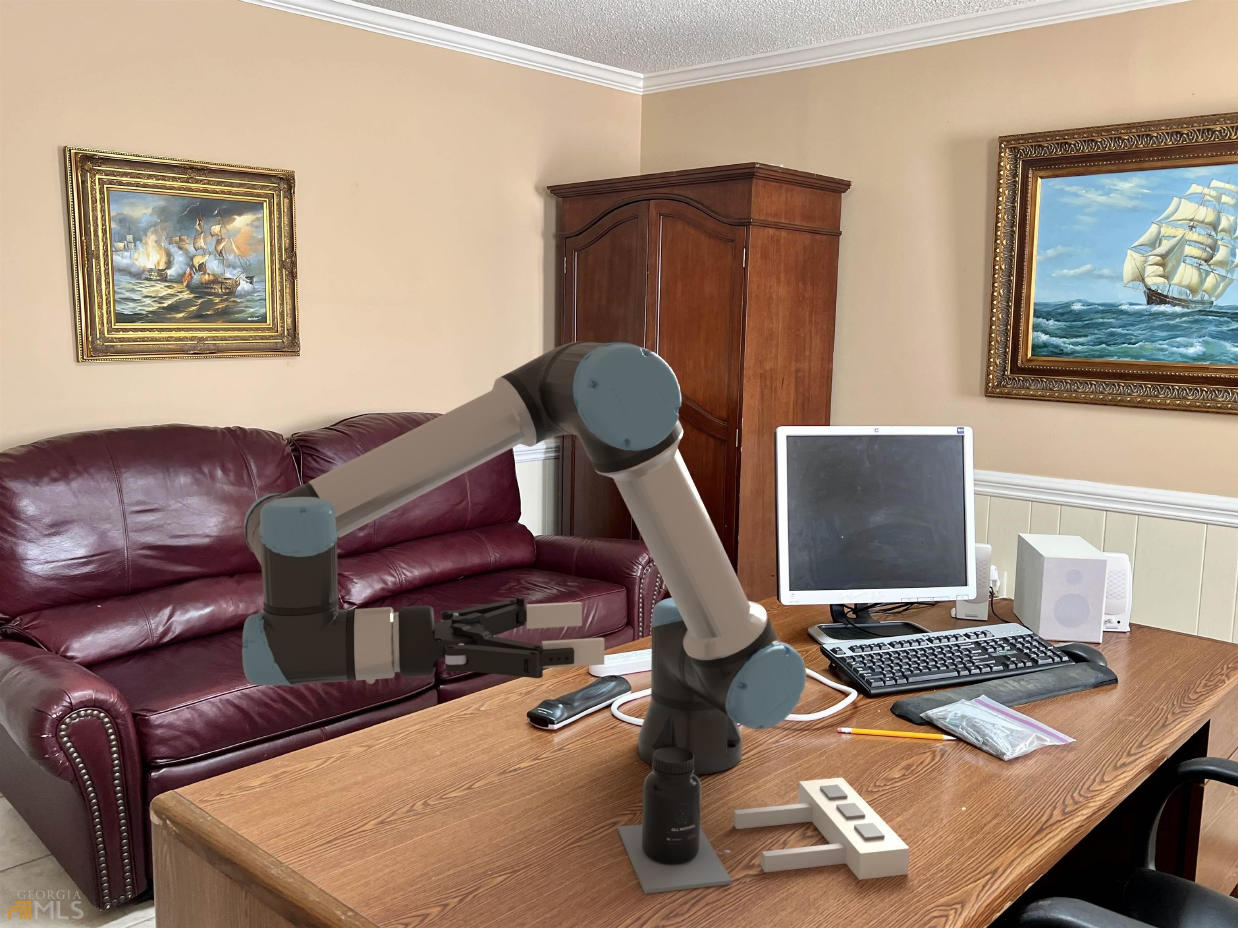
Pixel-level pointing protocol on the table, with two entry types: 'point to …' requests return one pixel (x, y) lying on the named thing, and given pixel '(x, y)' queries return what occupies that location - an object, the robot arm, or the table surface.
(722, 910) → the table surface
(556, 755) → the table surface
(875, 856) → the power strip dock
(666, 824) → the supplement bottle
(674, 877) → the rubber mat
